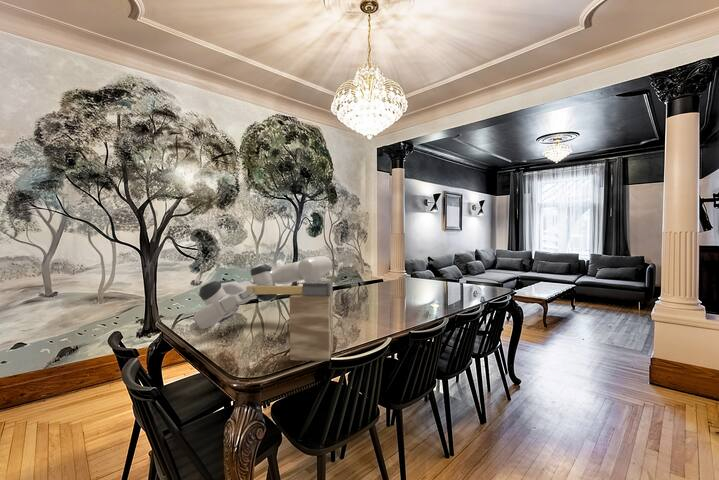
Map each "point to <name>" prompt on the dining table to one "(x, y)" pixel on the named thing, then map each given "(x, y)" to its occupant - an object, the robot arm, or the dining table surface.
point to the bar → (276, 289)
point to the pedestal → (311, 327)
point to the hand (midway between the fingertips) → (255, 288)
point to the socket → (317, 288)
